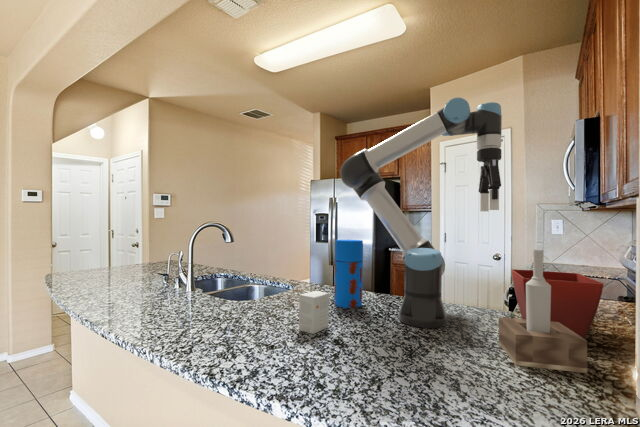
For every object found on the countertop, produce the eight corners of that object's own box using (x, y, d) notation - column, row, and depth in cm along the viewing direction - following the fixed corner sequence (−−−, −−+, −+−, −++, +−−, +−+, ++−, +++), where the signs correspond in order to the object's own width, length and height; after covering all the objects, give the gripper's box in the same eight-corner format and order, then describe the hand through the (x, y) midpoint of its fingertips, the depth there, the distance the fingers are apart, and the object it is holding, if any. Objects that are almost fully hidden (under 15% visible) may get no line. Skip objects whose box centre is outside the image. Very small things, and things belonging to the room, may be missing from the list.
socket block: (515, 365, 76) (515, 334, 76) (498, 343, 89) (498, 317, 89) (587, 373, 72) (587, 340, 72) (558, 349, 86) (558, 322, 86)
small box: (314, 323, 104) (314, 290, 104) (329, 327, 101) (329, 292, 101) (298, 330, 97) (298, 294, 98) (313, 334, 94) (314, 297, 94)
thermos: (332, 301, 134) (333, 239, 134) (358, 300, 135) (359, 239, 135) (336, 308, 123) (337, 241, 123) (365, 307, 124) (365, 241, 125)
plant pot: (605, 346, 89) (605, 282, 89) (523, 336, 95) (523, 277, 96) (578, 325, 106) (577, 272, 107) (510, 318, 113) (510, 269, 113)
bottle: (555, 357, 78) (555, 251, 78) (531, 355, 79) (530, 250, 79) (545, 349, 83) (544, 249, 83) (522, 347, 84) (522, 248, 84)
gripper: (512, 139, 101) (512, 209, 100) (491, 155, 125) (491, 211, 125) (485, 141, 103) (485, 209, 102) (470, 156, 127) (470, 211, 126)
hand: (488, 210), depth 113 cm, fingers open, 13 cm apart
